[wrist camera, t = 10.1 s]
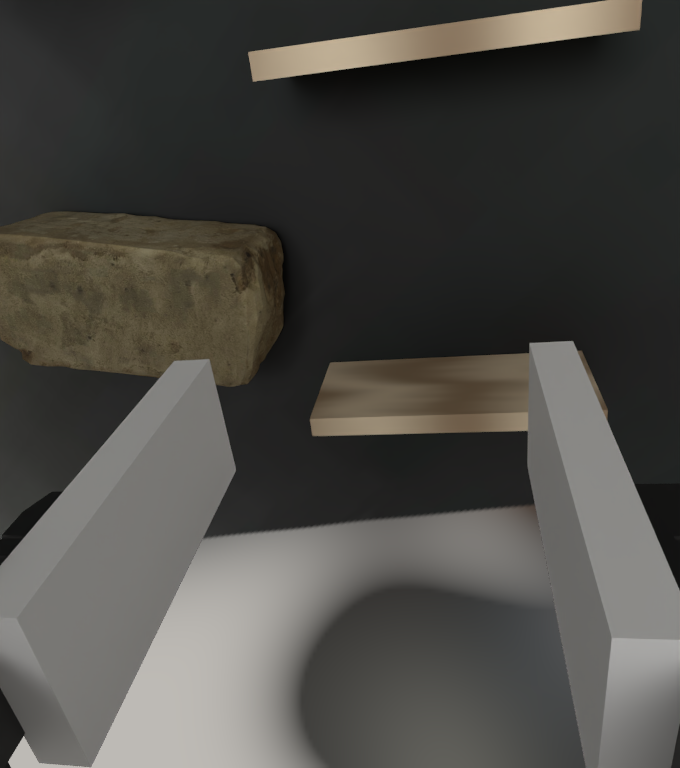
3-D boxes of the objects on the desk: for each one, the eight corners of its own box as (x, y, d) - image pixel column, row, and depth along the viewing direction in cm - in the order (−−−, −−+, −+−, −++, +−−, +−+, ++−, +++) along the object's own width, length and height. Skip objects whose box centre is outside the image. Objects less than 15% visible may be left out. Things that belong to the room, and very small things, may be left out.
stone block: (32, 203, 28) (-44, 233, 23) (289, 217, 26) (259, 252, 22) (58, 324, 30) (-6, 372, 26) (291, 343, 29) (265, 395, 25)
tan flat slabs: (332, 377, 29) (312, 436, 25) (285, 50, 23) (248, 52, 19) (580, 367, 27) (606, 428, 23) (601, 5, 21) (642, -5, 17)
